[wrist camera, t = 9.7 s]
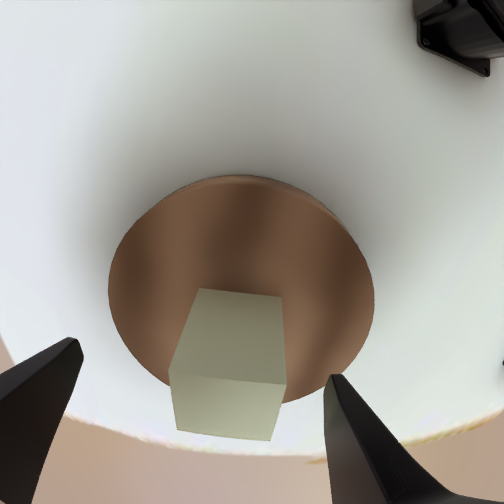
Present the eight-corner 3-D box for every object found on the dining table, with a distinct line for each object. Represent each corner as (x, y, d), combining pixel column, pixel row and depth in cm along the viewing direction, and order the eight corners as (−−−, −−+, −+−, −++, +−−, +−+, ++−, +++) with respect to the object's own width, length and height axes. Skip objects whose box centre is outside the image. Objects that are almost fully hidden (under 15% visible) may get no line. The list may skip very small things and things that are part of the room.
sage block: (281, 296, 18) (286, 384, 12) (270, 356, 20) (270, 441, 14) (199, 287, 18) (168, 370, 12) (199, 348, 20) (177, 429, 14)
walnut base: (388, 195, 18) (407, 207, 15) (329, 387, 25) (334, 411, 23) (118, 167, 18) (96, 175, 15) (139, 365, 25) (128, 388, 23)
